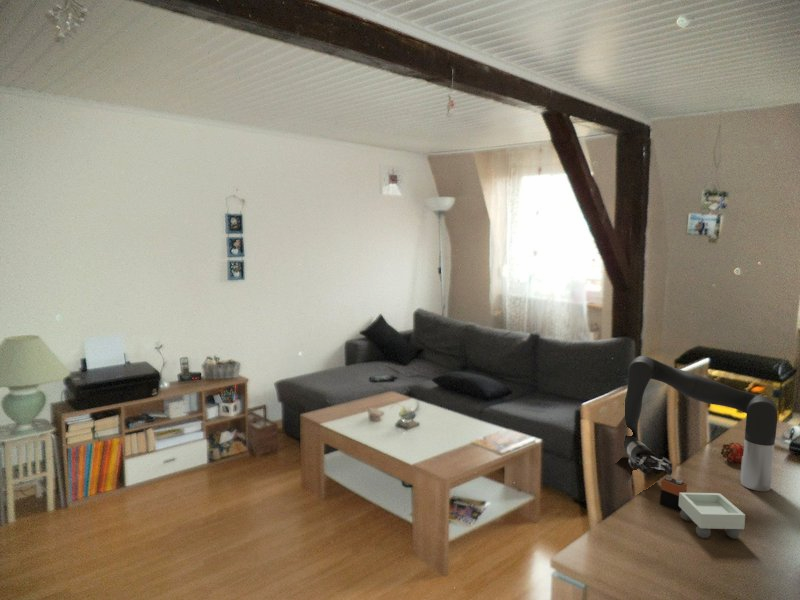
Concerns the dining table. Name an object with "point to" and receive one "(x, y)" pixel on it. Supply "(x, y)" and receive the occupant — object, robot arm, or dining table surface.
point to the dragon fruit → (733, 452)
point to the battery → (671, 492)
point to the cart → (711, 513)
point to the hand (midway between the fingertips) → (658, 472)
